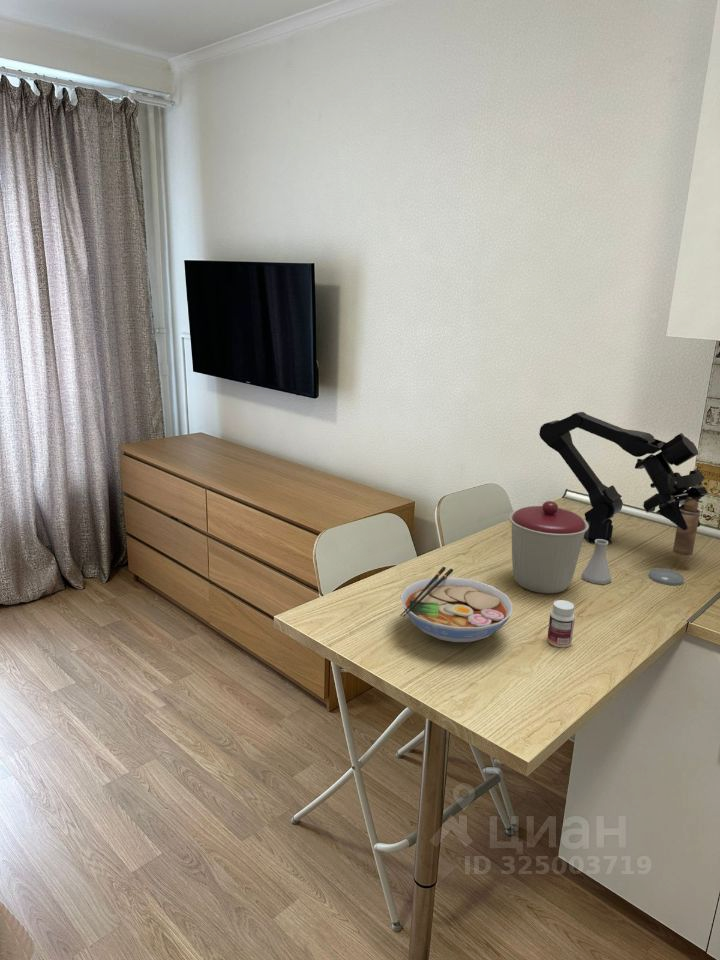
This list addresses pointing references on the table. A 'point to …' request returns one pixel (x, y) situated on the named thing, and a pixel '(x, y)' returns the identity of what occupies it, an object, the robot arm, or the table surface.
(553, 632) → the pill bottle
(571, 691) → the table surface
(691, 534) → the pepper mill
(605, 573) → the flask
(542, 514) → the canister
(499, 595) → the ramen bowl
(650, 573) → the slate coaster
